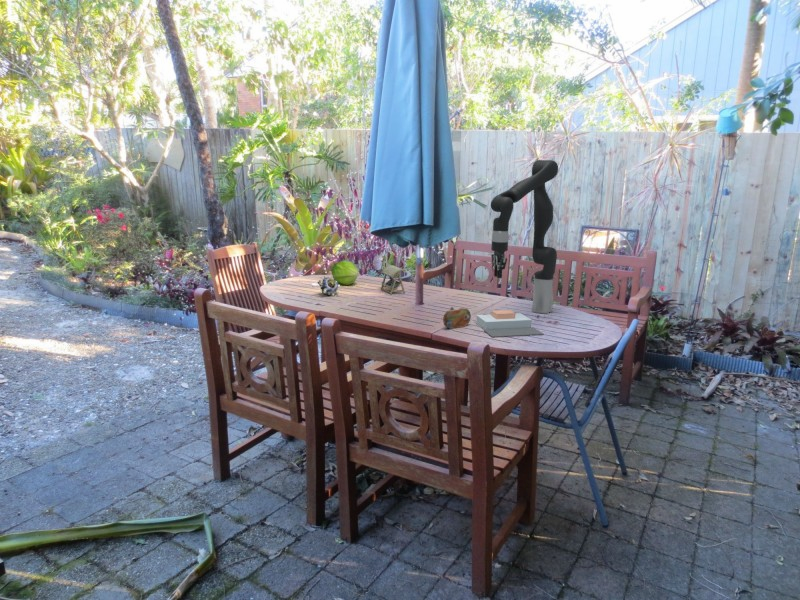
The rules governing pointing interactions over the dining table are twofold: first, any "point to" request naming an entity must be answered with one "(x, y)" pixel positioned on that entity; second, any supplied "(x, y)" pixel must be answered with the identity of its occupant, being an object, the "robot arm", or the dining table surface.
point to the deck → (503, 322)
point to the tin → (456, 318)
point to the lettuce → (345, 272)
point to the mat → (513, 332)
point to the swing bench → (392, 283)
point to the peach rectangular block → (503, 314)
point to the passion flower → (329, 285)
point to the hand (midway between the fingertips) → (497, 277)
